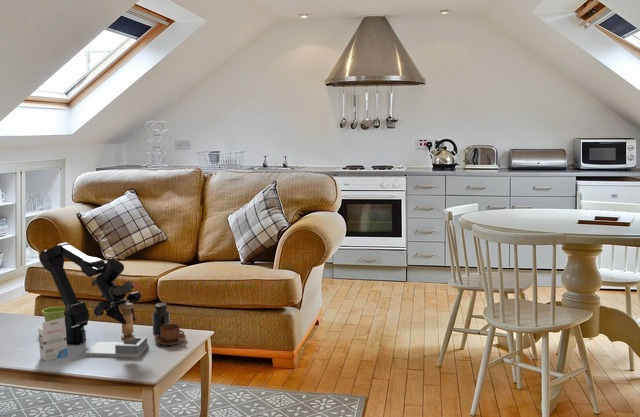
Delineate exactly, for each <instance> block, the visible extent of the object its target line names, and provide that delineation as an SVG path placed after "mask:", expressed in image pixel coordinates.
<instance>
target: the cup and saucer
mask: <svg viewBox="0 0 640 417" xmlns="http://www.w3.org/2000/svg"><path fill="white" fill-rule="evenodd" d="M160 331H161V334H160V335H155V337H154V342H155V343H157V344H159V345H163V346H172V345H178V344H180V343H182V342H184V341H185V340H186V338H187V335H186V334H185V332H184V330H181V329H180V325H179V324H174V323H170V324H168V325H163V326H161V327H160Z"/></svg>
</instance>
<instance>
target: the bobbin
mask: <svg viewBox="0 0 640 417" xmlns="http://www.w3.org/2000/svg"><path fill="white" fill-rule="evenodd" d="M134 307H135V304H133V303H123V304H120V306H119V309H121V310H122V309H123V310H122V312H121V314H122V316H123V317H124V319H125V321H126V324H125V325H124V324H122V323H121V333H122V335H121V336H120V341H122V342H124V341H132V340H134V339H135V337H136V336H135V335H134V334H133V333H134V321H133V313H131V309H132V308H133V309H134Z"/></svg>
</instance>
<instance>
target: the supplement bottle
mask: <svg viewBox="0 0 640 417" xmlns="http://www.w3.org/2000/svg"><path fill="white" fill-rule="evenodd" d="M170 316H171V315H170V311H169V310H168V304H167V303H166V302H157V303H155V305H154V311H153V312H152V333H153V335H155V336H158V335H160V334H161V331H160V327H161V326H163V325H168V324H171V319H170V318H171V317H170Z"/></svg>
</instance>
